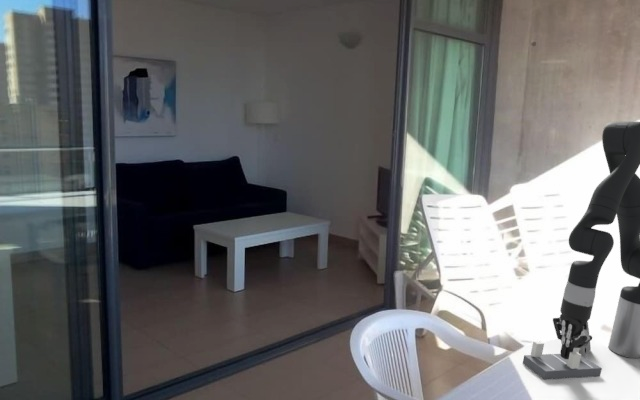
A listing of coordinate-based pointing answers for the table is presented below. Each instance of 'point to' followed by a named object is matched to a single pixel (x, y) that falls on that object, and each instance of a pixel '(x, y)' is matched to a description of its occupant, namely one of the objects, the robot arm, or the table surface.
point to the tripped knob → (574, 360)
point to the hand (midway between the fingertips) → (565, 357)
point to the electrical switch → (585, 346)
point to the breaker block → (560, 367)
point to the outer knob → (537, 349)
